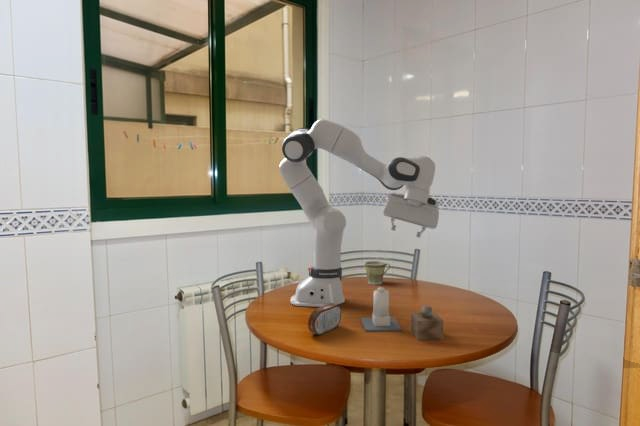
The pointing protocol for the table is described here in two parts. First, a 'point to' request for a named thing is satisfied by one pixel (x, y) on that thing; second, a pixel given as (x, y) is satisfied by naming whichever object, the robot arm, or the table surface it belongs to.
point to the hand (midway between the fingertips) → (405, 233)
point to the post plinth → (427, 325)
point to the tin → (324, 319)
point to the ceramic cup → (375, 271)
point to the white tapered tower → (381, 307)
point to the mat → (370, 326)
